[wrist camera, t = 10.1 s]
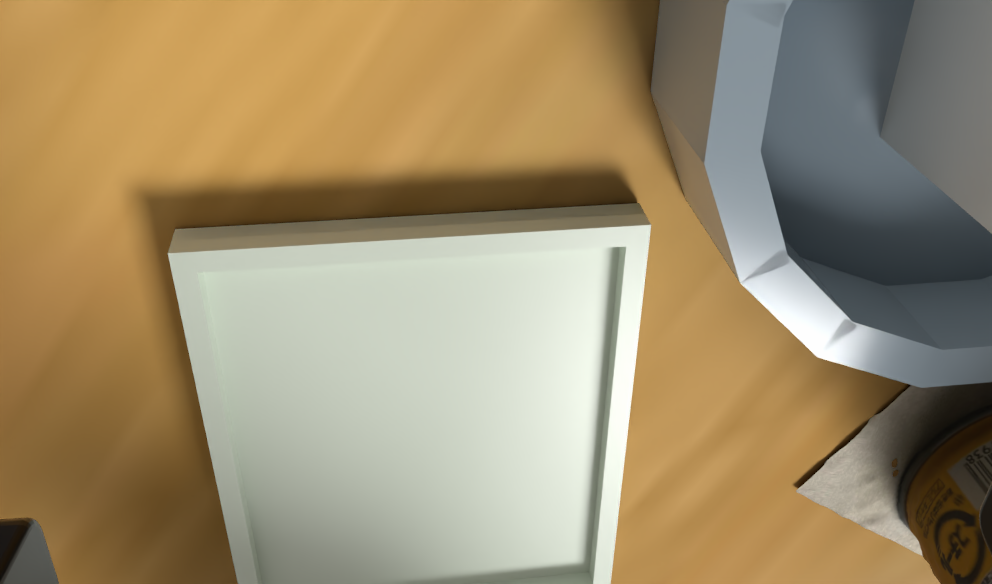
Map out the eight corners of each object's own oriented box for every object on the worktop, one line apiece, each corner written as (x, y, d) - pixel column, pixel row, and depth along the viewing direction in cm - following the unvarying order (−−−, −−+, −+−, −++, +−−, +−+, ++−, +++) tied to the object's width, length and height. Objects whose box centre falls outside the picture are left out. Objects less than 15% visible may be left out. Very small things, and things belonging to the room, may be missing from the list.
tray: (601, 568, 27) (608, 595, 27) (251, 603, 26) (248, 634, 25) (639, 202, 21) (651, 224, 20) (175, 229, 20) (167, 253, 19)
